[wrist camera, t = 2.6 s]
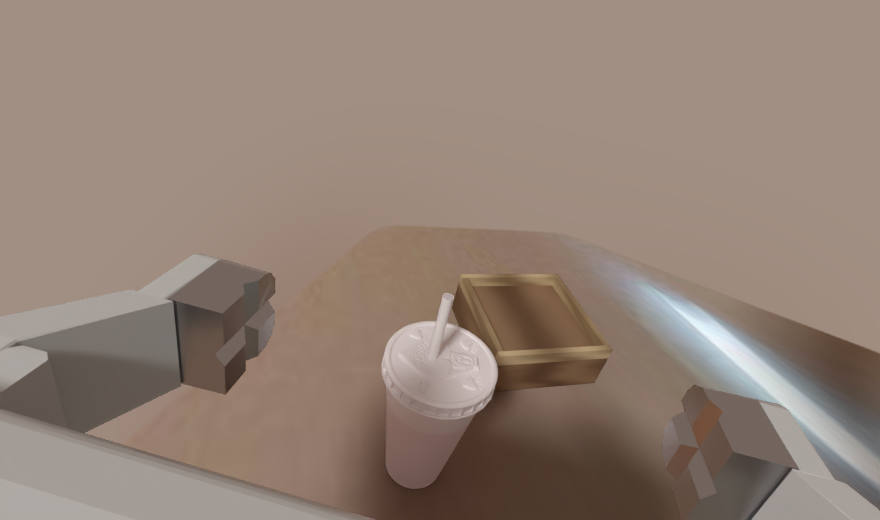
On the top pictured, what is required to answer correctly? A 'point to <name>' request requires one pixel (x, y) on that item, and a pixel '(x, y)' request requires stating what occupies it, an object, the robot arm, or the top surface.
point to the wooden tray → (531, 329)
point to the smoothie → (432, 394)
